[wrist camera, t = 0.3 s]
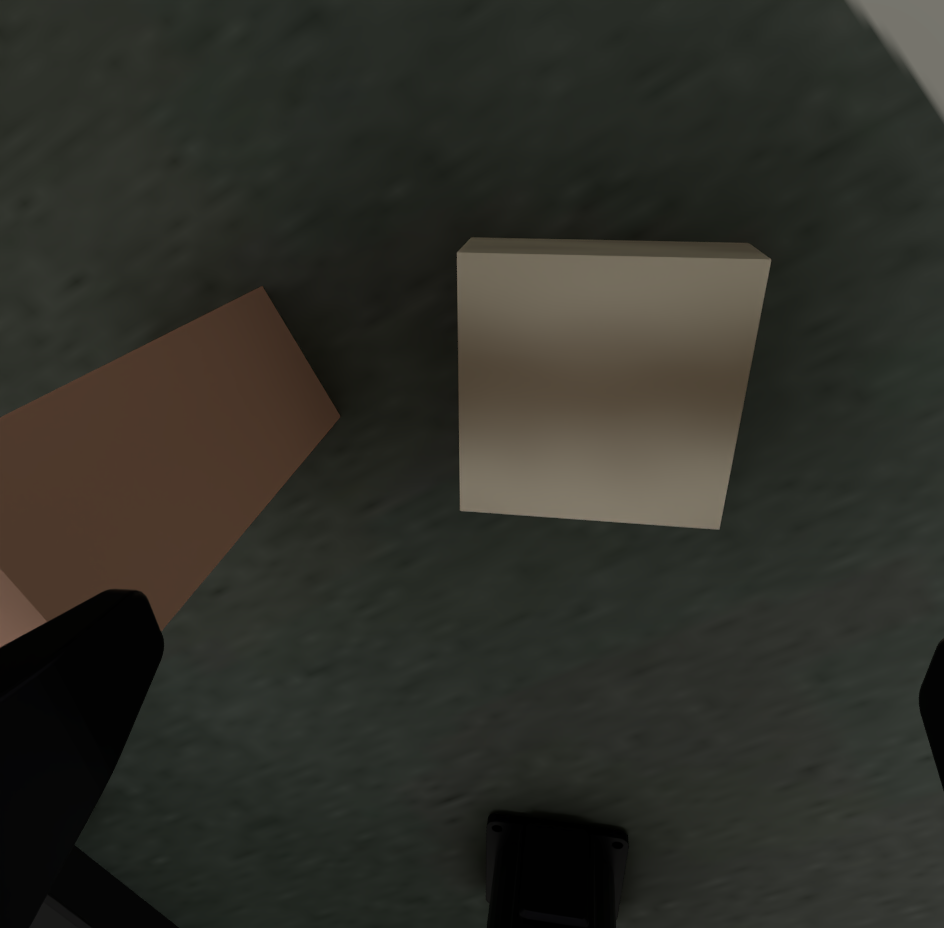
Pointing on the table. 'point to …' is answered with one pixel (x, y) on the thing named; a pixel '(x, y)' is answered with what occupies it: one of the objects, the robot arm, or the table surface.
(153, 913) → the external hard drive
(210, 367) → the column
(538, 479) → the slab
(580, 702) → the table surface
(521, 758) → the table surface
